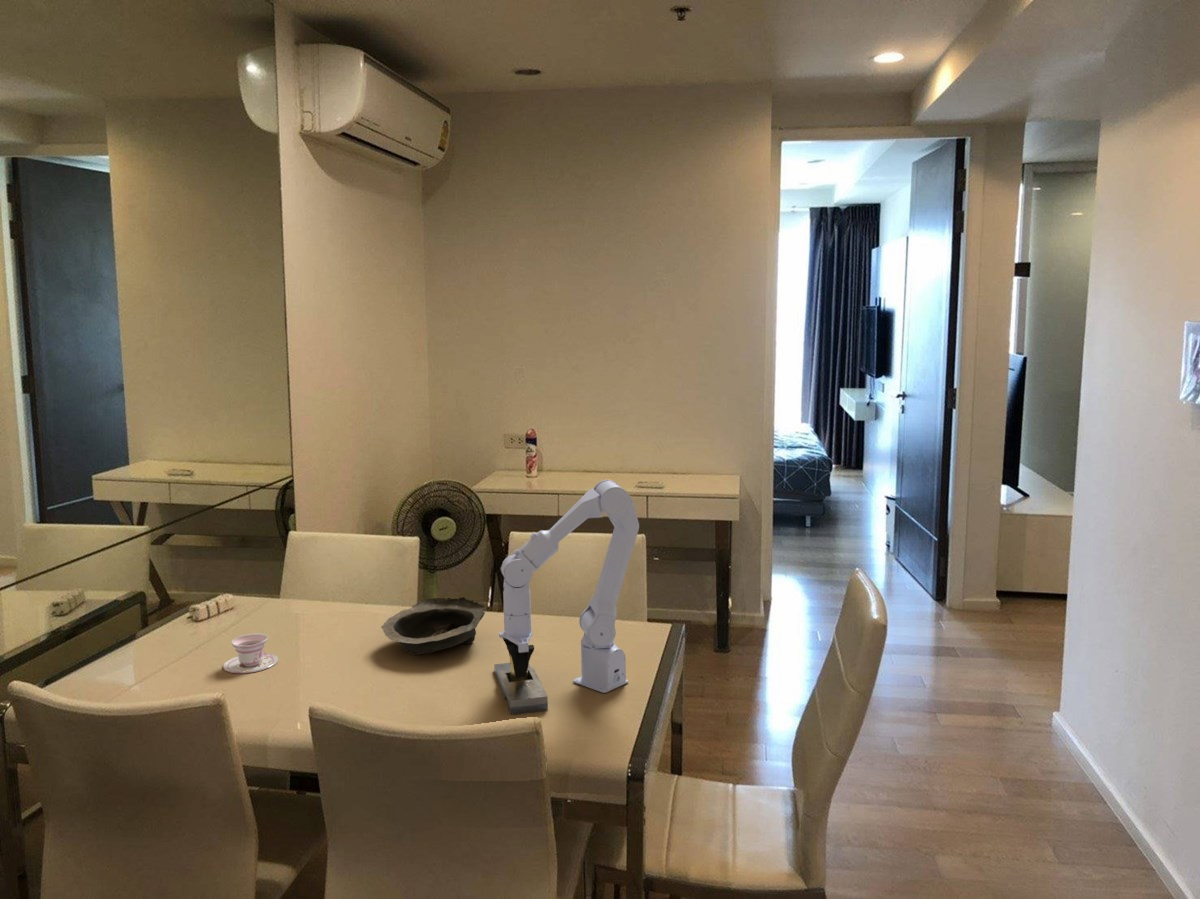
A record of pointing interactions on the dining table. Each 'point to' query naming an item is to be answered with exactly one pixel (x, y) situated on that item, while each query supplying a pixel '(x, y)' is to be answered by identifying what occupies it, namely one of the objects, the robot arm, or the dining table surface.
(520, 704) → the gray slotted block
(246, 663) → the teacup
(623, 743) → the dining table surface
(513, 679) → the pin
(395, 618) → the stone bowl
